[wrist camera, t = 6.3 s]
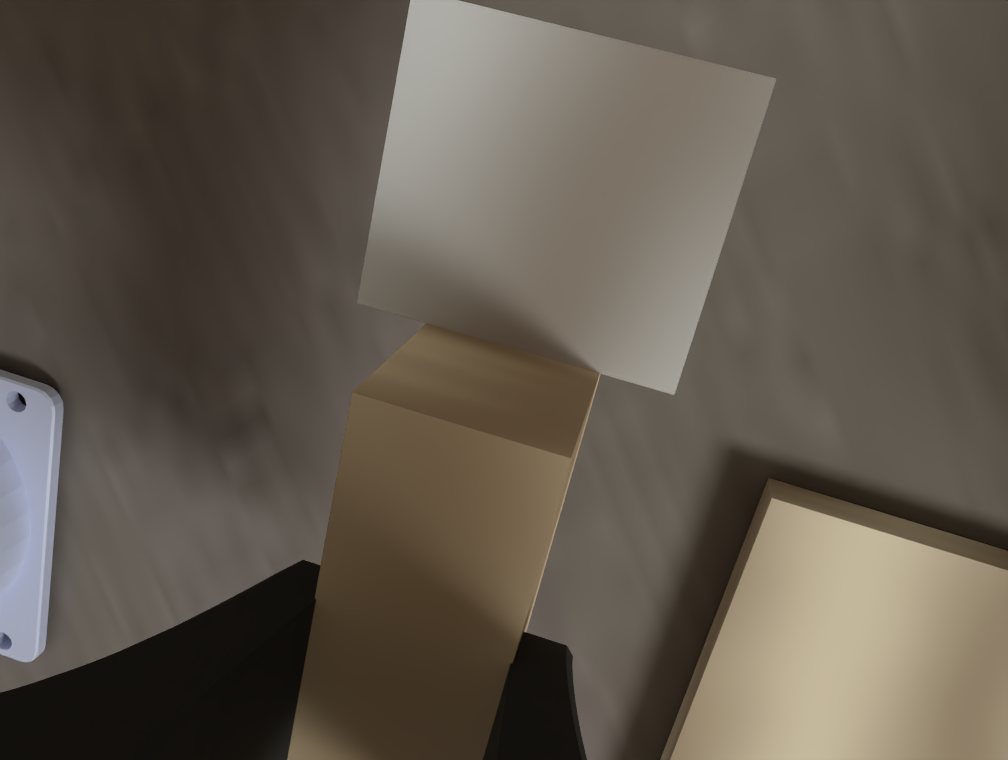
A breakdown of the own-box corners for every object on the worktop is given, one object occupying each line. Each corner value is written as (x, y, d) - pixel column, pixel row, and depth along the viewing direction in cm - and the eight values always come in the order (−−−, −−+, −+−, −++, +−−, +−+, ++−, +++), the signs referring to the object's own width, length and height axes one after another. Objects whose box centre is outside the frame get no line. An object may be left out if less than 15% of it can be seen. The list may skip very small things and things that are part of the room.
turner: (281, 804, 17) (176, 989, 13) (431, -7, 12) (321, -35, 8) (511, 888, 16) (462, 1100, 13) (771, 78, 11) (800, 82, 8)
